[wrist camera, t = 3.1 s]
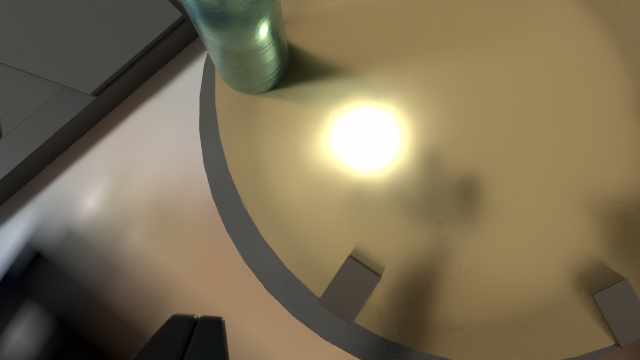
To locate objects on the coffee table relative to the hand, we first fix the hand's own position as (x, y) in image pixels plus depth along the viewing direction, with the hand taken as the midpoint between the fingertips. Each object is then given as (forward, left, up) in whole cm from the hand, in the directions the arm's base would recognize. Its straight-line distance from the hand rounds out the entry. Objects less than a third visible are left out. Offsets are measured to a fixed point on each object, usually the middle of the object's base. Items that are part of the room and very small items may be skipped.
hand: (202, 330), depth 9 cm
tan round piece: (+9, -1, -7) cm, 11 cm away
